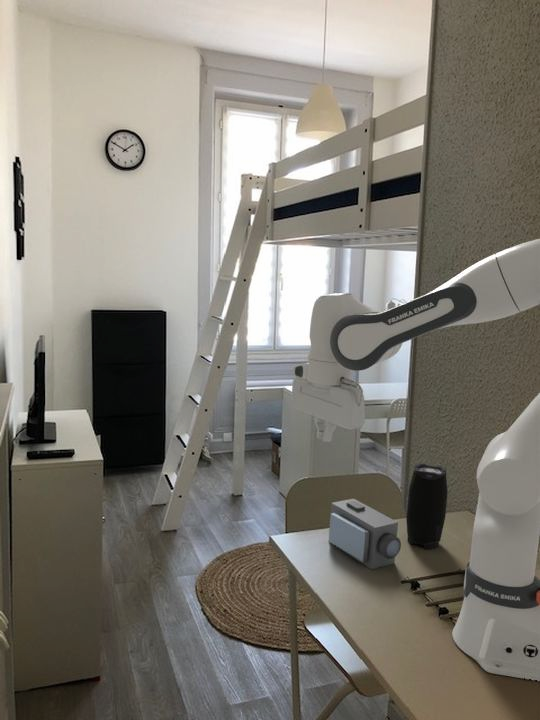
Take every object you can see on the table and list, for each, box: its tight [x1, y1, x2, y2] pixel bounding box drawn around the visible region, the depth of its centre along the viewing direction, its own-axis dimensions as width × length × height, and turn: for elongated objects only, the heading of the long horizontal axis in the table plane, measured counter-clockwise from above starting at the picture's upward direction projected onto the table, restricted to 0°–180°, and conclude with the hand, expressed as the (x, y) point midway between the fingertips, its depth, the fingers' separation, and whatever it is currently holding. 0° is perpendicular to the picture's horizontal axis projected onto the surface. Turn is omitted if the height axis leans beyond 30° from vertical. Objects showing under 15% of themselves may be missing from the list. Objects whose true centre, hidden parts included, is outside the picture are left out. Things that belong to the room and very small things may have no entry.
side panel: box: [328, 513, 370, 563], centre depth 143 cm, size 13×1×7 cm, turn 35°
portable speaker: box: [405, 463, 449, 550], centre depth 153 cm, size 9×9×20 cm
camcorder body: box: [330, 498, 402, 570], centre depth 145 cm, size 19×7×11 cm, turn 32°
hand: (324, 440), depth 125 cm, fingers closed
